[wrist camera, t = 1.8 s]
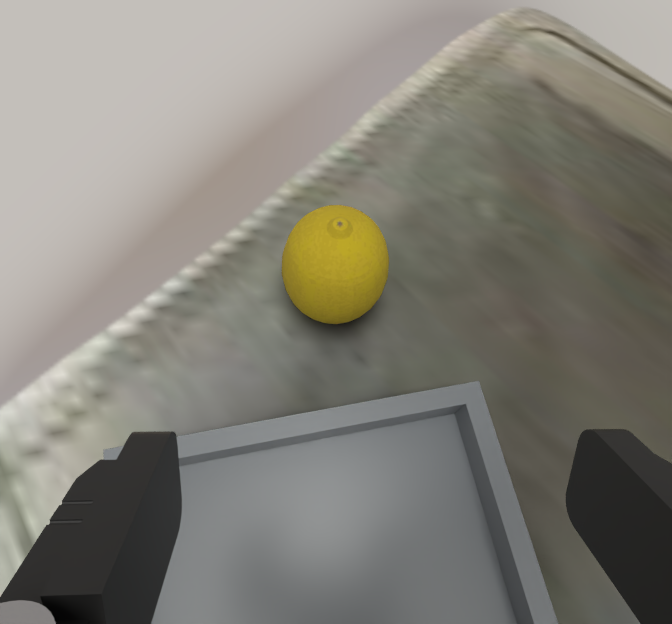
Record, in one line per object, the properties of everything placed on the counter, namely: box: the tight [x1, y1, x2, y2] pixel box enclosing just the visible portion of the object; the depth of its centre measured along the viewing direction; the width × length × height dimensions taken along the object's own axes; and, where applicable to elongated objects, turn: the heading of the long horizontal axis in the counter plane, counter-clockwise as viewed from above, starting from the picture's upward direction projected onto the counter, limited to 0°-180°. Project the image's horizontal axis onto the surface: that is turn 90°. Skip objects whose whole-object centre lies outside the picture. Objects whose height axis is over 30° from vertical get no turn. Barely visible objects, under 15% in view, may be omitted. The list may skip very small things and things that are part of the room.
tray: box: [104, 381, 558, 624], centre depth 22 cm, size 18×14×3 cm
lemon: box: [282, 205, 389, 324], centre depth 26 cm, size 6×6×8 cm
